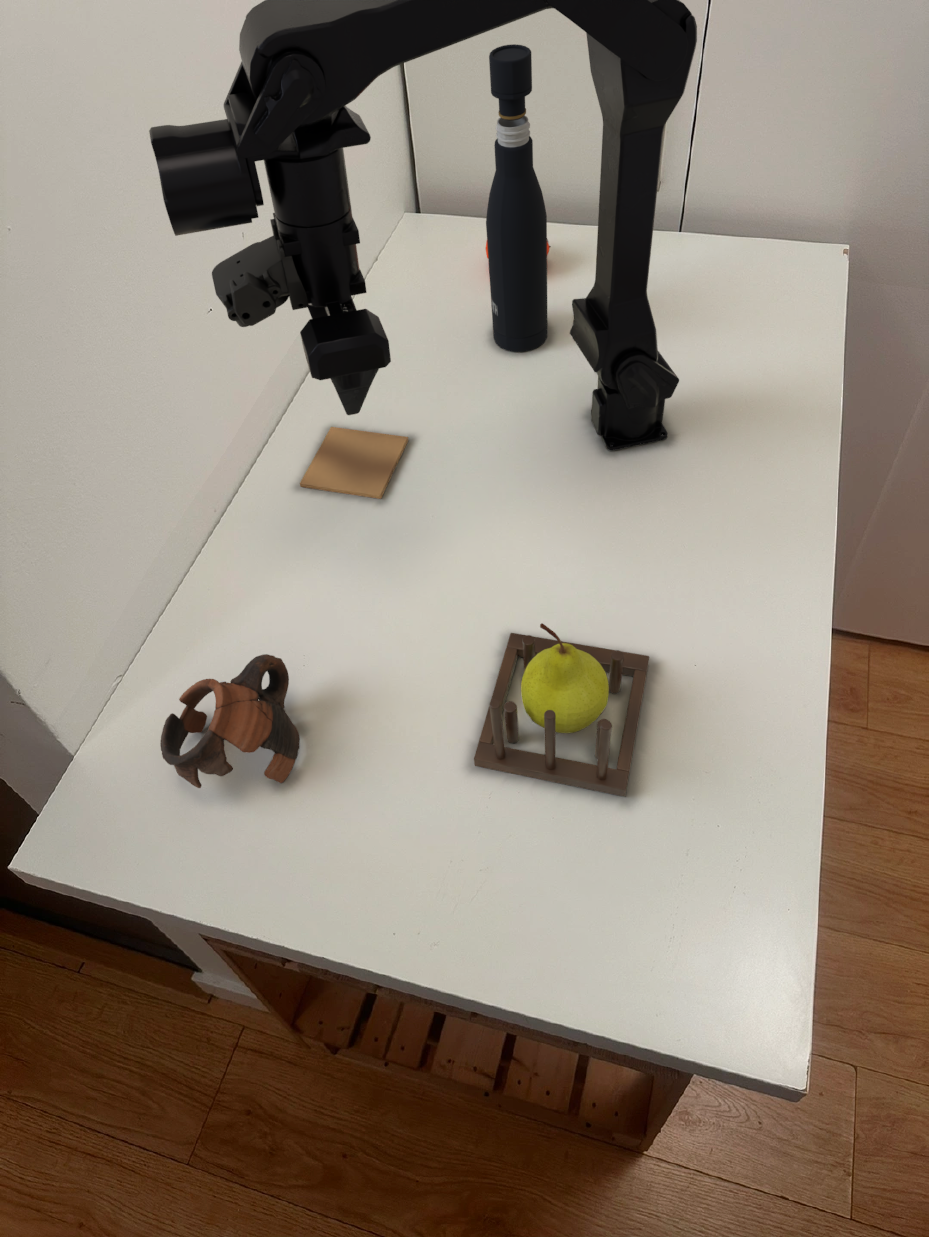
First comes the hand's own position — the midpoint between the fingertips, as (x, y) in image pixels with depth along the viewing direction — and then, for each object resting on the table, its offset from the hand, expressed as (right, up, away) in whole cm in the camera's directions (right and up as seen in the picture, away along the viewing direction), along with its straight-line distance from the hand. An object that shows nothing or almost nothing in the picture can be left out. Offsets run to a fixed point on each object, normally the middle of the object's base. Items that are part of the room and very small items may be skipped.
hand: (342, 381), depth 77 cm
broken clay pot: (-7, -31, -4) cm, 33 cm away
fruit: (+19, -29, -5) cm, 35 cm away
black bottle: (+18, +12, +26) cm, 33 cm away
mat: (-1, -5, +15) cm, 15 cm away
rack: (+19, -29, -6) cm, 35 cm away
